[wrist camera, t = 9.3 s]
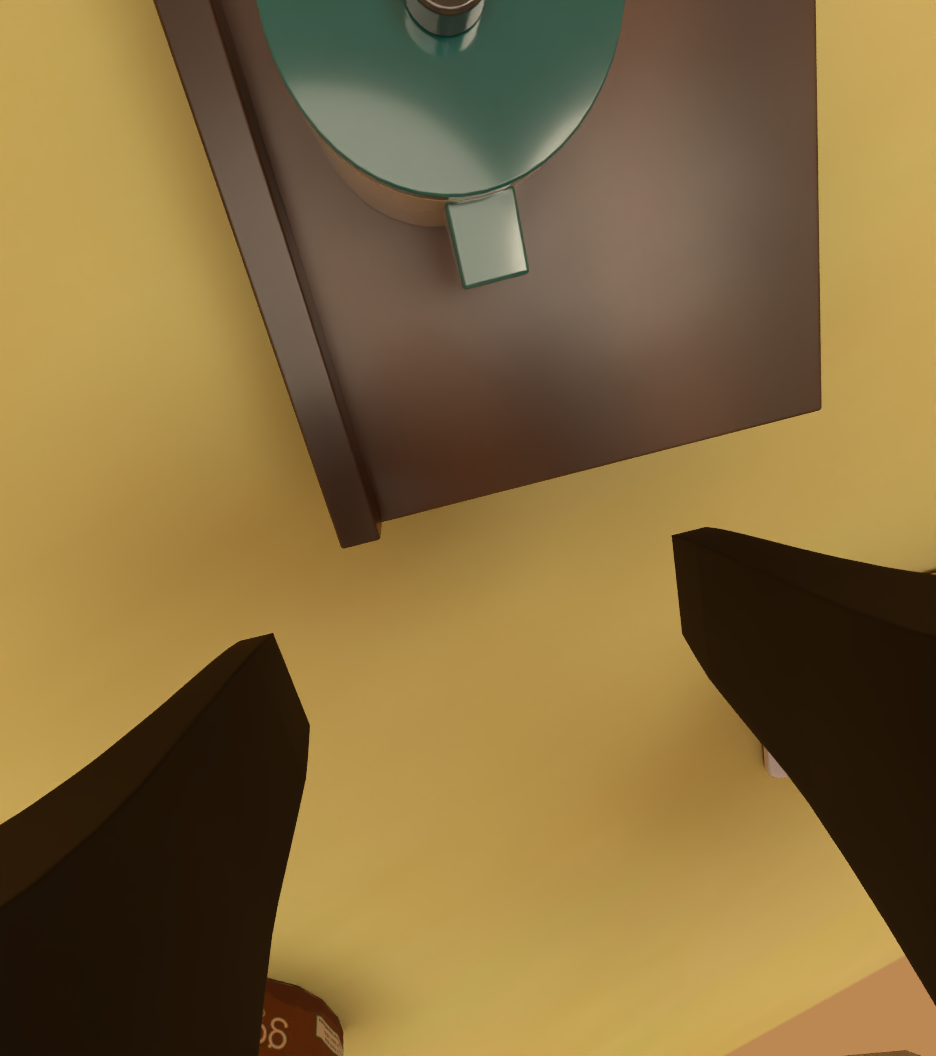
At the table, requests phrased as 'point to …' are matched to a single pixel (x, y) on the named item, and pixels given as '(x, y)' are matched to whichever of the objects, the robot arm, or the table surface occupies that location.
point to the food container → (298, 1024)
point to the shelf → (536, 265)
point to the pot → (445, 104)
